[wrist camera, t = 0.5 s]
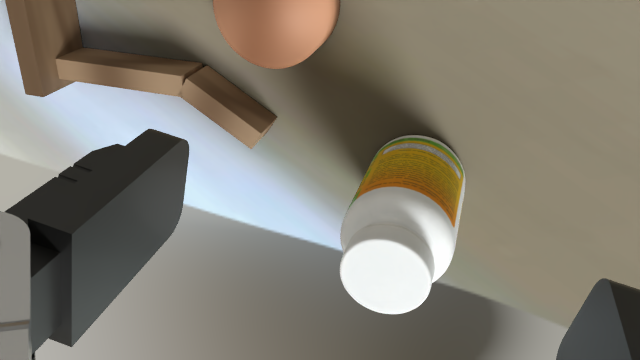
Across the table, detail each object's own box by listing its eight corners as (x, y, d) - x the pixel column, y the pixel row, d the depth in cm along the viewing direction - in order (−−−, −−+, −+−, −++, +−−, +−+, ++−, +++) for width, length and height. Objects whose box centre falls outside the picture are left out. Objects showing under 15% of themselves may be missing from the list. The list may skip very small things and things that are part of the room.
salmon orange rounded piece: (344, -58, 29) (330, -52, 27) (338, 61, 32) (325, 75, 30) (231, -66, 30) (209, -61, 28) (235, 48, 33) (216, 61, 31)
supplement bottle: (366, 132, 33) (315, 221, 25) (464, 131, 31) (445, 226, 23) (375, 216, 35) (331, 322, 27) (467, 219, 34) (450, 333, 25)
